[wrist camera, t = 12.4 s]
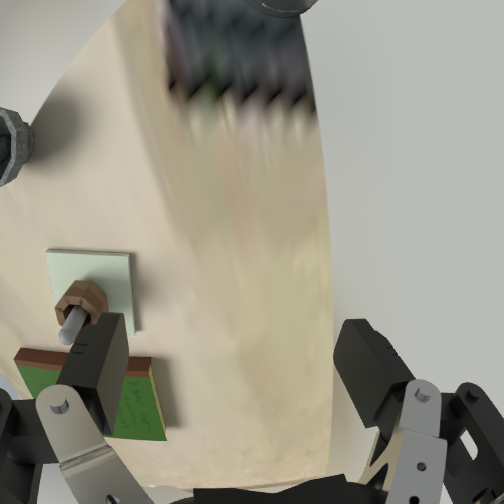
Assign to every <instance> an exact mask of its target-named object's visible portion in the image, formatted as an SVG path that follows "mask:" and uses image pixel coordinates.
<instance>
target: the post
mask: <svg viewBox="0 0 504 504" xmlns="http://www.w3.org/2000/svg"><path fill="white" fill-rule="evenodd" d="M45 257H46V263H47V270H48V276H49V281H50V286H51V292H52V297H53V301H54V306H56V304H57V303H58V302H59V300H60V299H61V297H62V296H63V294H64V293H65V292H66V290H67V289H68V288H69V287H70V286H71V284H72V283H73V282H74V281H75V280H82V281H93V282H94V283H95V284H96V285H97V286H98V287H99V288H100V289H101V290H102V291H103V292H105V293H106V295H107V302H108V308H109V311H108V312H118V313H123V314H124V317H125V324H126V332H127V335H132V336H135V333H136V328H135V318H134V308H133V297H132V285H131V270H130V253H109V252H88V251H68V250H49V249H48V250H47V251H46V252H45ZM88 313H89V312H88V311H86V310H85V309H84V308H83V307H82V306H81V305H75V306H74V308H73V309H72V311H71V313H70V314H69V316H68V318H67V319H66V321H65V323H64V325H63V326H62V327H61V326H60V325H59V327H60V328H61V330H60V332H59V340H60V341H61V343H62V344H64V345H71V344H72V343H73V342H74V341H75V339H76V337H77V334H78V332H79V331H80V329H81V327H82V325H83V323H84V321H85V319H86V317H87V315H88Z"/></svg>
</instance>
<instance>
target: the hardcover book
mask: <svg viewBox="0 0 504 504" xmlns="http://www.w3.org/2000/svg"><path fill="white" fill-rule="evenodd" d="M68 354H69V353H64V352H54V351H44V350H36V349H27V348H20V350H19V351H18V353H17V354H16V356H15V358H14V361H15V363H16V366H17V368H18V370H19V372H20V374H21V376H22V378H23V380H24V382H25V384H26V385H27V387H28V389H29V391H30V393H31V395H32V397H33V398H34V399H37V397H38V395H39V394H40V393H41V391H43V390H44V389H45V388H47V387H49V386H52V385H55V384H56V382H57V379H58V377H59V375H60V372H61V370H62V368H63V365H64V363H65V361H66V358H67V356H68ZM150 363H151V357H129V359H128V365H127V370H126V374H125V378H124V383H123V387H122V392H121V397H120V402H119V407H118V412H117V417H116V422H115V427H114V433H113V436H109V435H103V437H111V438H122V439H134V440H151V441H167V439H166V436H165V433H166V426H165V422H164V419H163V415H162V411H161V407H160V403H159V399H158V395H157V391H156V387H155V382H154V378H153V374H152V369H151V364H150Z"/></svg>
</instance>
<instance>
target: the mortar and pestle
mask: <svg viewBox="0 0 504 504" xmlns="http://www.w3.org/2000/svg"><path fill="white" fill-rule="evenodd" d="M33 150H34V133H33V131H32V130H31V128H30V126H29V124H28V123H26V122H23V121H22V119H21V117H20V115H19V114H18V112H15V111H12V110H8V109H4V108H1V107H0V187H1V186H3V185H5V184H7V183H9V182H11V181H12V180H13V179H15V178H16V177H17V175H18V173H19V171H20V169H21V167H22V165H23V164H25V163H27V161H28V159H29V157H30V156H31V154H32V152H33Z"/></svg>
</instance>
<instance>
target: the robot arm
mask: <svg viewBox="0 0 504 504" xmlns="http://www.w3.org/2000/svg"><path fill="white" fill-rule="evenodd" d="M247 1H248V2H249V3H250V4H251V5H252V6H253V7H255V8H256V9H258V10H259V11H261V12H263V13H266V14H268V15H272V16H276V17H293V16H297V15H300V14H302V13H304V12H306V11H307V10H308V9H310V8H311V7H312V5H314V4H315V3H316V2H317V1H318V0H247ZM128 359H129V347H128V340H127V332H126V324H125V317H124V314H123V313H118V312H107V311H102V313H101V315H100V317H99V319H98V321H97V324H96V325H94V324H87V325H86V326H85V327H84V328H83V329H82V330H81V331H79V332H78V334H77V337H76V339H75V341H74V345H72V347H71V349H70V353H69V354H68V356H67V358H66V361H65V363H64V365H63V368H62V370H61V372H60V375H59V377H58V379H57V382H56V384H55V385H52V386H49V387H47V388H45V389H44V390H43V391H41V393H40V394H39V395H38V397H37V399H29V400H12V399H11V397H10V396H9V394H8V393H7V392H6V391H5V390H3V389H1V388H0V504H37V496H38V490H39V484H40V478H41V473H42V467H43V464H50V463H60V470H61V472H62V474H63V476H64V478H65V480H66V482H67V484H68V486H69V488H70V489H71V491H72V493H73V495H74V496H75V498H76V500H77V502H78V503H79V504H154V502H153V501H152V500H151V498H150V497H149V496H148V495H147V494H146V492H145V491H144V490H143V489H142V487H141V486H140V485H139V483H138V482H137V481H136V480H135V478H134V477H133V476H132V474H131V473H130V472H129V470H128V469H127V467H126V466H125V465H124V463H123V462H122V460H121V459H120V458H119V456H118V455H117V453H116V452H115V451H114V449H113V448H112V447H111V446H109V445H108V444H107V442H106V441H105V439H104V437H103V435H109V436H113V433H114V427H115V422H116V417H117V412H118V407H119V402H120V397H121V392H122V387H123V383H124V378H125V374H126V370H127V365H128ZM333 360H334V364H335V367H336V369H337V371H338V373H339V374H340V377H341V379H342V381H343V383H344V385H345V387H346V389H347V391H348V393H349V395H350V397H351V399H352V401H353V403H354V405H355V408H356V410H357V412H358V414H359V416H360V418H361V420H362V422H363V424H364V426H365V428H370V427H374V426H378V428H379V431H378V432H377V434H376V436H375V439H374V443H373V446H372V449H371V452H370V455H369V458H368V461H367V464H366V467H365V470H364V472H363V474H362V476H361V478H360V479H359V481H358V482H357V483H355V482H347V481H346V478H345V475H344V474H339V475H335V476H329V477H324V478H319V479H313V480H309V481H307V482H304V483H302V484H299V485H297V486H294V487H291V488H289V489H286V490H283V491H281V492H278V493H265V492H256V491H249V490H242V489H236V488H193V494H194V497H189V498H184V499H181V500H178V501H175V502H173V503H170V504H439V503H440V497H441V492H442V485H443V483H444V485H445V487H446V489H447V491H448V493H449V496H450V498H451V500H452V502H453V504H504V418H503V417H502V416H501V414H500V413H499V411H498V410H497V408H496V407H495V406H494V404H493V403H492V401H491V400H490V399H489V397H488V396H487V395H486V393H485V392H484V391H483V389H481V388H480V387H479V386H477V385H475V384H473V383H469V382H466V383H463V384H461V385H460V386H459V387H458V389H457V390H456V392H455V393H440V391H439V390H438V388H437V387H436V386H435V385H433V384H432V383H430V382H428V381H426V380H421V379H416V378H415V377H414V376H413V374H412V373H411V371H410V370H409V369H408V367H407V366H406V364H405V363H404V362H403V360H402V359H401V357H400V356H398V353H397V352H396V351H395V349H393V347H392V345H391V344H390V342H389V341H388V340H387V338H386V337H384V336H383V335H382V334H380V333H379V332H378V331H374V329H373V328H372V327H371V325H370V324H369V323H368V321H367V320H366V319H346V320H345V321H344V323H343V325H342V329H341V331H340V335H339V337H338V341H337V343H336V346H335V349H334V354H333ZM466 430H467V431H468V432H469V434H470V436H471V437H472V439H473V440H474V442H475V444H476V446H477V449H478V454H477V457H476V458H475V459H474V460H472V458H471V456H470V454H469V452H468V451H467V449H466V447H465V445H464V444H463V442H462V440H461V438H460V437H461V436H462V434H463V433H464V432H465V431H466Z"/></svg>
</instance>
